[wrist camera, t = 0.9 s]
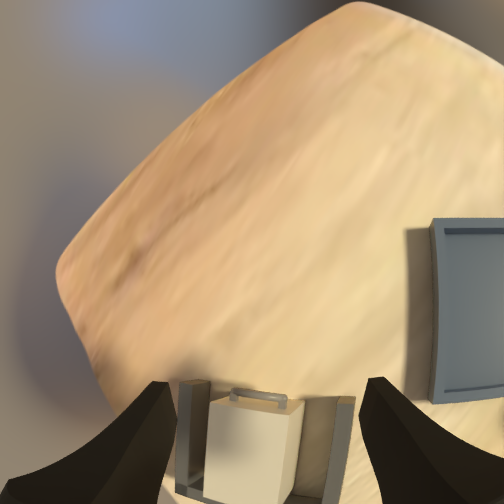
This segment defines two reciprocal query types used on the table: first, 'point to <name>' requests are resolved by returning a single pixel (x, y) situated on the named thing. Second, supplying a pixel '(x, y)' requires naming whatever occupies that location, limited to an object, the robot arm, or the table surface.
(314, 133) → the table surface
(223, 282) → the table surface
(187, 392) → the dock
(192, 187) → the table surface
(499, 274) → the tray
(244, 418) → the box
